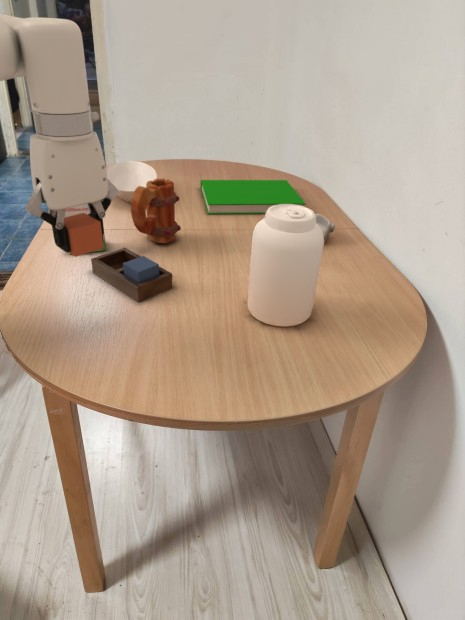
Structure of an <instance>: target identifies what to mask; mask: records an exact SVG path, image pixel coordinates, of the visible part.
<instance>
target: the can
mask: <svg viewBox="0 0 465 620" xmlns="http://www.w3.org/2000/svg"><path fill="white" fill-rule="evenodd" d="M315 214H316V213H315V212H314V211H313V209H311V208H309V207H306V206H304V207H303V206H300V205H294V204H279V205H274V206H272V207H269V209H268V210H267V212H266V213H265V214H264V217H263V218H262V219H261V220H259V221H258V222H257V223H256V224H255V227H254V229H253V231H252V237H251V238H252V239H251V250H250V263H249V276H248V288H247V301H246V302H247V303H246V305H247V306H246V307H247V309H248V311H249V313H250V315H251V316H252V317H253V318H255V319H256V320H257V321H259V322H261V323H264V324H266V325H271V326H275V327H294V326H298V325H300V324H303V323H305V321H307V320H308V319H309V318H310V317H311V316H312V313H313V310H314V303H315V298H316V291H317V285H318V281H319V280H318V279H319V275H320V270H321V269H320V268H321V264H322V263H321V262H322V258H323V251H324V250H323V249H324V247H325V246H324V245H325V242H324V237H323V232H322V229H321V228H320V227H319V226H318V225H317V223H316V216H315Z"/></svg>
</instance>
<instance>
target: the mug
mask: <svg viewBox="0 0 465 620" xmlns="http://www.w3.org/2000/svg"><path fill="white" fill-rule="evenodd" d="M174 184H175V183H174V182H173V181H172V180H170V179H168V178H167V179H166V180H165V178H157V179H154V181H148V182H147V184H146V187H142V186H138V187H137V188H136V189H135V192H134V195H133V198H132V202H130V214H131V218H132V222H133V225H134V227H135V228H136V230H137V231H138V232H139V233H141V234H144V235H146V237H147V240H149V241H151V242H153V243H156V244H169V243H172V242H173V241H174V240H175V238H176V234H177V233H178V232H179V231H181V229H182V227H181V226H180V225H179V224H178V222H177V221H176V214H175V213H176V212H175V211H176V209H175V204H176V203H177V202H179V201H180V199H181V198H180V196H178V195H177V193H176V191H175V185H174Z"/></svg>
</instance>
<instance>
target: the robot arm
mask: <svg viewBox="0 0 465 620" xmlns="http://www.w3.org/2000/svg"><path fill="white" fill-rule="evenodd" d="M84 49H85V48H84V42H83V34H82V30H81V28H80V26H79V25H78V24H77V23H76V22H75V21H73V20H71V19H67V18H55V17H34V16H33V17H25V18H24V17H17V16H13V15H8V14H4V13H0V82H3V81H8V80H12V79H15V78H22V77H25V80H26V83H27V89H28V95H29V100H30V107H31V112H32V117H33V123H34V129H35V133H34V134H30V136H29V162H30V176H31V184H32V190H33V192H32V194H31V196H30V198H29V199H28V202H27V203H26V205H25V207H24V210H25V211H26V213H28V214H30V215H33V216H34V217H35V218H38V219H40V220H42V221H45V222H46V223H47V224H49V225H51V229H52V233H53V234H52V235H53V239H54V244H55V246H56V247H58V249H61V250H62V251H64V252H65V253H66V254H68V252H70V251H71V247H70V241H69V234H68V229H67V228H66V227H64V220H65V211H66V208H71V207H75V206H79V205H84V204H87V206H88V208H89V210H90V214H88V215H89V216H91V217H93V218H94V219H96V220H98V221H100V222H101V231H102V239H103V234H104V235H105V227H104V219H105V217H106V215H107V214H106V212H107V211H108V209H109V207H110V206H111V204H112V202H113V201H114V199H115V198H116V197H117V194H118V192H119V191H118V189H117V188H116V187H115V186H114V185H113V184H112V183H111V182H110V181H109V180H108V179H107V172H106V171H107V167H106V162H105V157H104V152H103V149H102V145H101V142H100V139H99V137H98V134H97V133H98V132H96V131H94V124H95V123H97V122H99V120H100V115H99V113H98V112H97V111H92V109H91V103H90V94H89V87H88V86H89V84H88V77H87V68H86V58H85V50H84ZM42 204H46V205H47V207H48V210H47V211H46V210H44V209H42V208H41V206H42ZM103 242H104V239H103Z"/></svg>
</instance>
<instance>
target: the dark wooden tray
mask: <svg viewBox="0 0 465 620" xmlns="http://www.w3.org/2000/svg"><path fill="white" fill-rule="evenodd" d="M139 257H142V256H141V255H139V254H138V253H136V252H134V251H132V250H131V249H129V248H127V247H123V248H119V249H117V250H113V251H110V252H107V253H104V254H101V255H97V256H96V257H92V258H91V259H90V260H91V261H90V262H91V269H92V274H94V275H96V276H97V277H99V278H100V279H102V280H103V281H105V282H107V283H108V284H109V285H110V286H112V287H114V288H116V289H117V290H119V291H121V292H122V293H124V294H125V295H127V296H128V297H130V298H131V299H133V300H134V301H136V302H137V303H140V302H143V301H145V300H148V299H150V298H152V297H155V296H157V295H159V294H161V293H164V292H166V291H168V290H170V289H173V273H172V272H171V271H169V270H167V269H165V268H163V267H161V266H159V276H158V277H155V278H153V279H150V280H148V281H145V282H143V283H140V284H137V283H136V282H134V281H133V280H131V279H129V278H128V277H126V276H124V269H123V263H125V262H128V261H131V260H133V259H136V258H139Z"/></svg>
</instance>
